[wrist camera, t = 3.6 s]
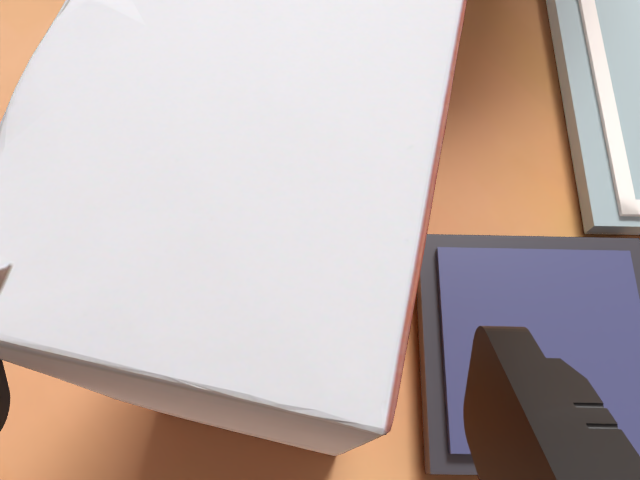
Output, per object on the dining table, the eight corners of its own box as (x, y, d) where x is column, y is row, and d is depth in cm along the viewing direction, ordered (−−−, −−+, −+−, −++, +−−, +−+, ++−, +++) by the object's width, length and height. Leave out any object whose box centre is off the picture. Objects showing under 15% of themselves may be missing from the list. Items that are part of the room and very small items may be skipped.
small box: (339, 459, 19) (393, 455, 6) (154, 412, 19) (-124, 329, 7) (385, 235, 21) (482, -60, 9) (223, 199, 22) (114, -126, 10)
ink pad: (425, 473, 18) (432, 474, 17) (414, 242, 21) (419, 230, 20) (670, 477, 18) (693, 478, 17) (626, 246, 21) (643, 235, 20)
